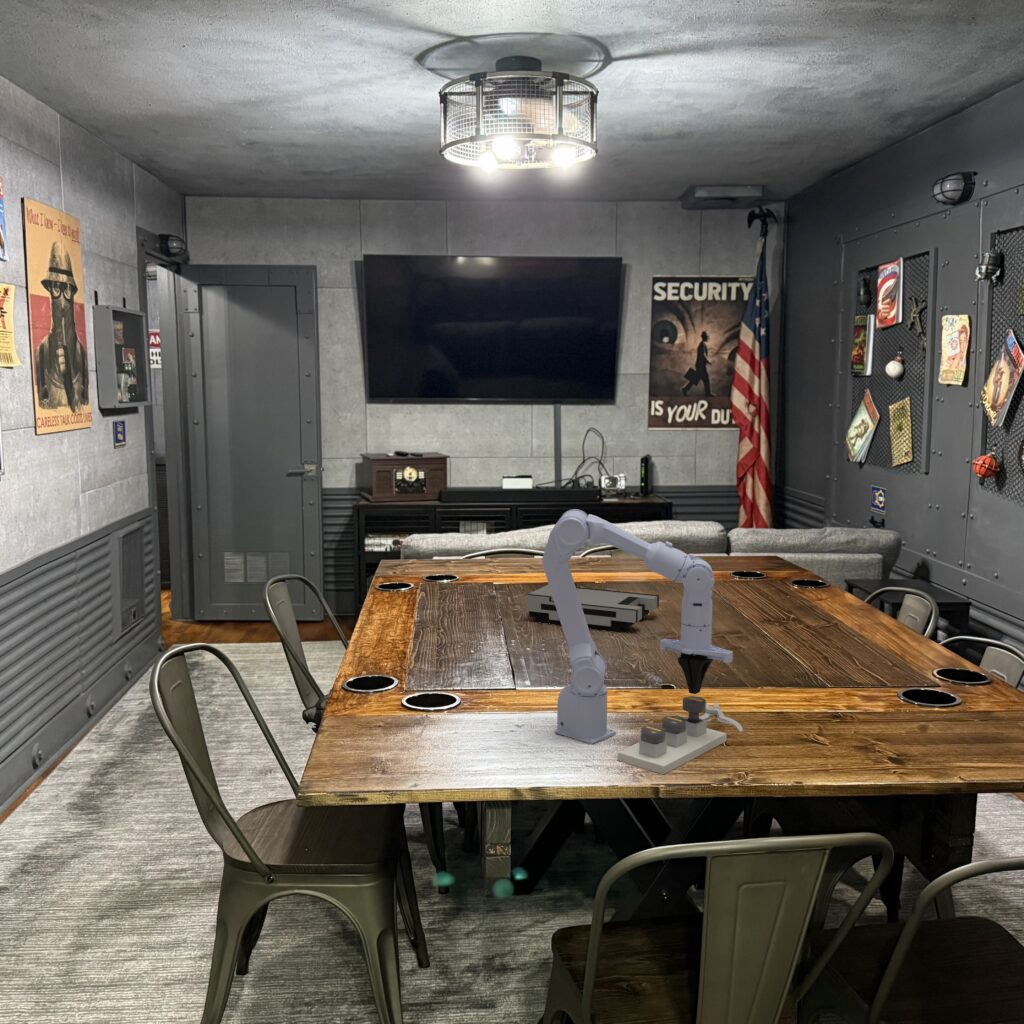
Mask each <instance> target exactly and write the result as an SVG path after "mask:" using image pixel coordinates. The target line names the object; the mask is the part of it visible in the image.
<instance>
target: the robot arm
mask: <svg viewBox="0 0 1024 1024" xmlns="http://www.w3.org/2000/svg"><path fill="white" fill-rule="evenodd" d="M587 540H588V541H589V542H588V545H589V546H593V545H597V544H603V543H604V544H607V545H610V546H612V547H613V548H617V549H619V550H622V551H623V552H625V553H628V554H630V555H633V556H635V557H637V558H639V559H642V560H643V561H644V565H645V567H646V570H650V571H651V572H653V573H656V574H657V575H660V576H662V577H663V578H666V579H668V580H670V581H672V582H674V583H678V584H682V585H683V597H682V599H681V619H680V620H681V624H680V639H671V638H664V639H663V638H662V639H661V640H660V641H659V650H660V651H665V652H666V651H668V652H675V653H678V654H680V656H679V657H677V663H678V664H679V666H680V667H681V668H680V669H681V670H682V672H683V673H684V674H683V675H684V677H685V681H686V684H687V688H688V689H687V690H688V692H689V693H688V694H692V695H697V694H698V693H700V692H701V689H702V685H703V681H704V678H705V675H706V673H707V671H708V669H709V668H710V665H711V664H712V662H713V661H715V660H716V661H719V662H722V663H724V664H730V663H731V662H733V659H734V652H733V650H728V649H725V648H721V647H719V646H716V645H712V633H713V632H712V631H713V629H712V628H713V599H712V596H713V587H714V585H715V577H714V572H713V569H712V566H711V565H710V564H709V563H708V562H707V561H706V560H704V559H703V558H702V557H696V555H695V554H693V553H689V554H687V553H685V552H683V551H681V550H678V549H677V548H674V547H673V543H672V542H670V541H667V540H666V541H665V542H662V541H661V540H659V541H656V542H653V543H649V542H647V541H645V540H644V539H641V537H640V538H639V537H638V536H636V535H634V534H632V533H630V532H628V531H627V530H625V529H623V528H621V527H619V526H617V525H615V524H613V523H611V522H609V521H608V520H605V519H603V518H601V517H600V516H597V515H594V514H590V513H589V514H587V513H586V512H585V511H583V510H581V509H577V508H576V509H575V508H574V509H569V510H567V511H565V512H564V513H562V515H561V516H560V517H559V519H558V520H557V522H556V523H555V525H554V526H553V528H552V529H551V530H550V533H549V535H548V540H547V543H546V546H545V550H544V552H543V556H542V558H541V563H542V567H543V570H544V573H545V577H546V580H547V585H548V584H549V587H550V590H551V593H552V596H553V600H554V603H555V606H556V609H557V612H558V616H559V619H560V622H561V625H562V626H561V628H562V630H563V631H562V632H563V635H564V638H565V641H566V644H567V648H568V653H569V654H568V655H569V663H570V665H571V676H570V678H571V679H570V681H571V685H566V686H564V687H563V688H562V689H561V690H560V692H559V695H558V698H557V703H556V707H557V712H556V714H557V716H556V717H557V718H556V719H557V720H556V723H557V724H556V726H557V727H556V729H555V730H554V733H555V734H558V735H561V736H565V737H568V738H570V739H571V738H572V739H575V740H578V741H581V742H583V743H584V742H585V743H587V744H593V745H594V744H596V743H598V742H600V741H603V740H605V739H607V738H609V737H612V736H613V735H616V734H617V731H616V730H614V729H610V728H608V687H607V686H606V685H605V684H604V683H605V675H606V673H607V666H608V665H607V662H606V659H605V658H604V657H603V655H601V654H600V652H599V651H598V649H597V646H596V643H595V642H594V641H595V640H593V639H592V635H591V632H590V629H589V628H588V625H587V622H586V619H585V616H584V612H583V609H582V606H581V603H580V599H579V596H578V593H577V590H576V587H575V583H576V582H575V581H574V577H573V574H572V571H571V569H570V568H571V567H570V564H569V563H570V560H571V558H572V557H573V554H574V553H575V552H576V551H577V550H579V549H580V548H581V546H582V547H583V545H584V544H585V542H586V541H587Z"/></svg>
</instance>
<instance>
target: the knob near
mask: <svg viewBox="0 0 1024 1024" xmlns="http://www.w3.org/2000/svg"><path fill="white" fill-rule="evenodd" d="M640 729H641V730H640V740H642V741H644V742H647V743H655V744H656V743H662V742H664V741H665V733H666V730H665V728H663V727H662V726H661V725H660V726H659V725H651V724H649V725H644V726H642V727H641V728H640Z"/></svg>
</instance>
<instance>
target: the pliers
mask: <svg viewBox="0 0 1024 1024" xmlns="http://www.w3.org/2000/svg"><path fill="white" fill-rule="evenodd" d="M719 704H720V703H719V702H717V701H715V703H714V704H713V706H711V705H709V704H708V703H707V702H706V710H705V711H704V712H703V713H704V714H703V715H699V718H700V719H704V720H707V723H710V722H711V721H713V719H712V718H710V717H715V716H716V718H717V719H716V721H717V722H718V723H721V724H725V725H730V726H733V727H734V728H735V729H736V730H737V731H738V732H739V733H740V734H743V732H744V731H743V726H742V725H741V724H740V723H739V722H738V721H736V720H735V719H733V718H731V717H727V716H725V713H724V712H723V711H722V710H721V708H720V705H719Z"/></svg>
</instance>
